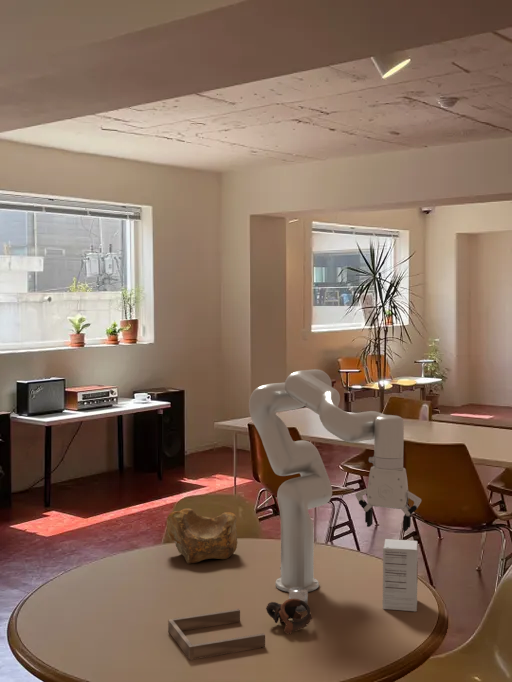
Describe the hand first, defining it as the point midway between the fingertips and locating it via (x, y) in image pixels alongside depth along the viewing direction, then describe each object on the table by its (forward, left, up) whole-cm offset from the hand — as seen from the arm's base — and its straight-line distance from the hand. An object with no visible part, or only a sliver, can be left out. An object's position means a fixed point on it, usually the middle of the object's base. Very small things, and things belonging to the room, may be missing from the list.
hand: (387, 527), depth 220 cm
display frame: (-3, -46, -24) cm, 52 cm away
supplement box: (-6, +8, -24) cm, 26 cm away
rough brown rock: (-65, -30, -24) cm, 76 cm away
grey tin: (-14, -19, -24) cm, 34 cm away
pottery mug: (-4, -27, -24) cm, 36 cm away
